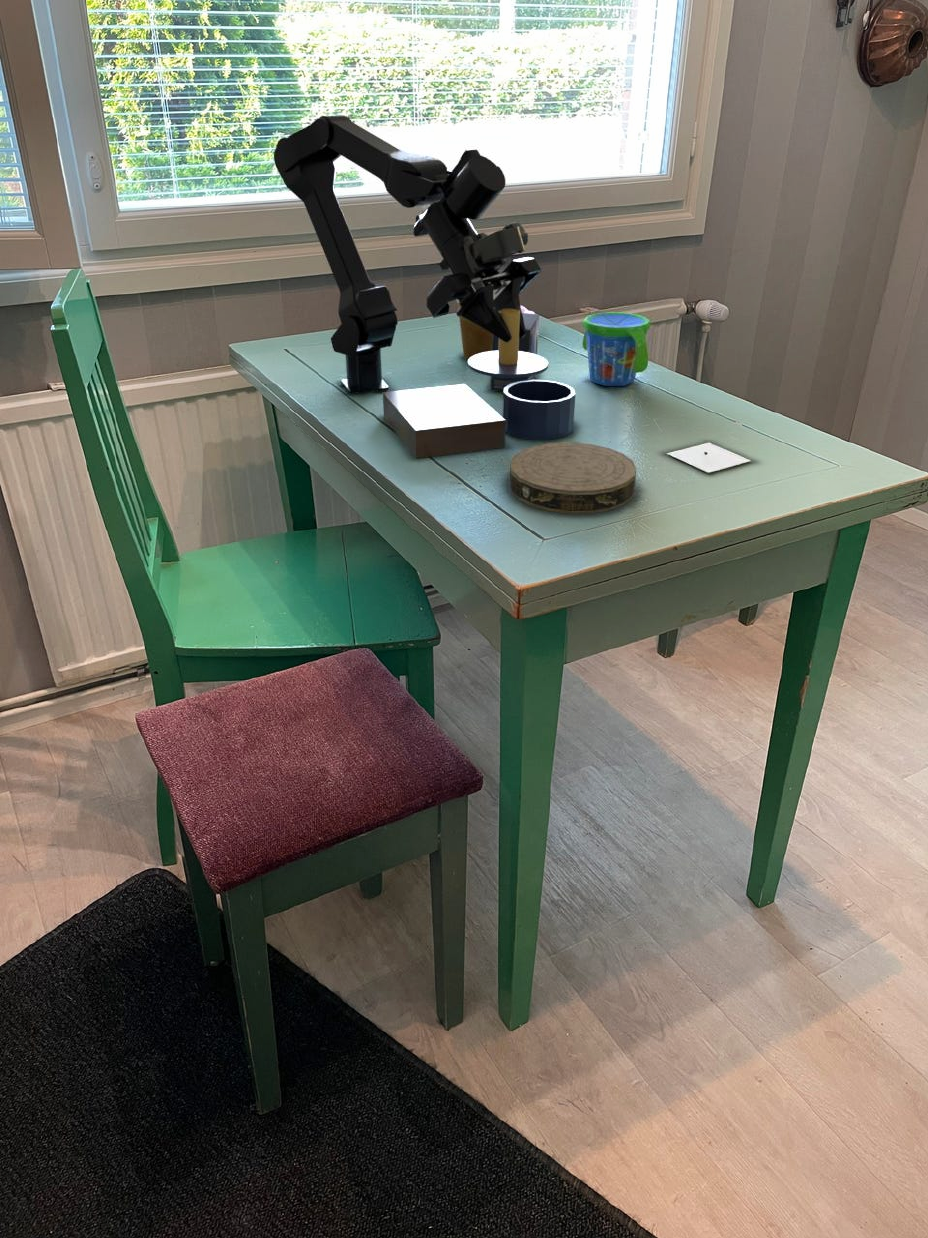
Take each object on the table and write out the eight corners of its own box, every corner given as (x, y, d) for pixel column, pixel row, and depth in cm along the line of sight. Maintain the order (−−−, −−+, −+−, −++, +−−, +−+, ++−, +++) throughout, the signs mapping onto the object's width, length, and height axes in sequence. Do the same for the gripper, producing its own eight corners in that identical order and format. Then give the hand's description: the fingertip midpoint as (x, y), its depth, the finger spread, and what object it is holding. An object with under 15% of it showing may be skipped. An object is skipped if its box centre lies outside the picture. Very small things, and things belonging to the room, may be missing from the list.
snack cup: (563, 370, 162) (566, 310, 156) (617, 365, 165) (622, 305, 160) (604, 398, 149) (610, 334, 144) (662, 391, 152) (670, 328, 147)
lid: (460, 359, 136) (460, 302, 132) (535, 356, 138) (538, 299, 134) (477, 384, 126) (478, 323, 122) (557, 379, 128) (561, 319, 124)
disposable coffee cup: (517, 354, 170) (519, 286, 164) (490, 367, 163) (491, 296, 157) (472, 346, 174) (473, 279, 168) (444, 359, 167) (444, 289, 161)
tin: (492, 419, 141) (493, 383, 138) (555, 412, 144) (557, 377, 141) (518, 443, 132) (519, 405, 130) (584, 435, 135) (587, 398, 133)
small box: (529, 394, 151) (531, 328, 145) (489, 391, 152) (490, 326, 146) (537, 375, 160) (540, 312, 154) (500, 372, 161) (501, 310, 155)
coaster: (751, 460, 127) (752, 455, 127) (708, 472, 123) (709, 467, 123) (708, 442, 133) (709, 437, 132) (666, 453, 129) (667, 448, 129)
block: (383, 418, 141) (382, 392, 139) (465, 409, 145) (465, 383, 143) (416, 458, 127) (415, 430, 125) (505, 447, 131) (505, 419, 129)
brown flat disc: (653, 507, 114) (656, 485, 113) (527, 519, 111) (528, 495, 110) (609, 459, 128) (611, 438, 126) (495, 468, 125) (496, 446, 123)
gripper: (441, 209, 117) (506, 315, 117) (534, 194, 129) (593, 290, 129) (398, 266, 126) (459, 365, 125) (489, 247, 138) (544, 337, 137)
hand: (516, 338), depth 129 cm, fingers closed on lid, 3 cm apart
